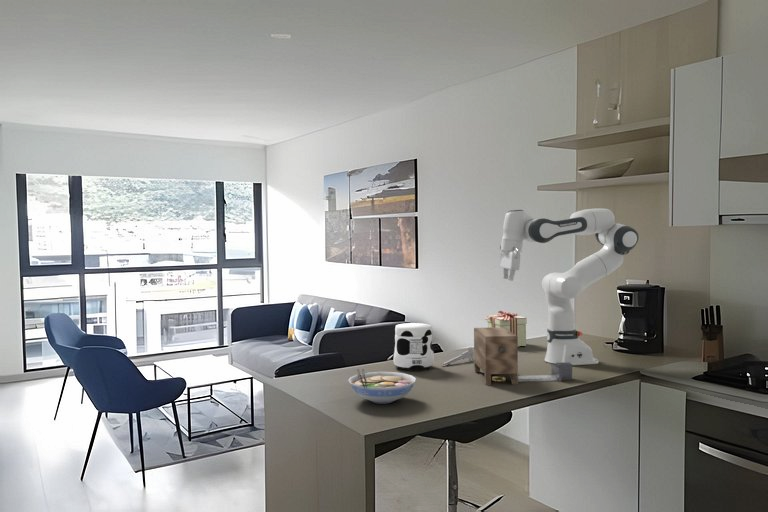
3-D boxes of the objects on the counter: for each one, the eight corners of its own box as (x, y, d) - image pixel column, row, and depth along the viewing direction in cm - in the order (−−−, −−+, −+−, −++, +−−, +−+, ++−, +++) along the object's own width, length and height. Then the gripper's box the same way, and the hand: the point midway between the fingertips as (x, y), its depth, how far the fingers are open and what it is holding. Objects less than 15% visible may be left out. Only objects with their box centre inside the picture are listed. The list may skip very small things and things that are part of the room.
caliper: (472, 360, 261) (471, 346, 261) (473, 360, 260) (473, 346, 260) (440, 367, 248) (440, 352, 248) (442, 367, 247) (442, 352, 247)
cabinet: (503, 371, 238) (503, 327, 237) (518, 385, 215) (518, 336, 214) (474, 371, 237) (473, 327, 237) (486, 385, 214) (486, 337, 214)
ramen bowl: (421, 410, 183) (421, 384, 183) (349, 413, 182) (348, 386, 181) (411, 390, 208) (411, 367, 208) (347, 392, 207) (347, 369, 206)
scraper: (566, 376, 228) (566, 360, 228) (574, 381, 219) (574, 365, 219) (511, 377, 227) (511, 361, 227) (517, 382, 218) (517, 366, 218)
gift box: (480, 344, 300) (480, 311, 300) (511, 342, 307) (511, 309, 306) (498, 350, 284) (497, 315, 284) (530, 347, 291) (530, 313, 290)
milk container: (412, 362, 258) (412, 321, 257) (442, 367, 245) (442, 325, 245) (384, 368, 246) (384, 325, 245) (414, 374, 233) (414, 330, 233)
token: (503, 379, 225) (503, 376, 225) (506, 382, 220) (506, 379, 220) (490, 379, 225) (490, 376, 225) (493, 382, 220) (493, 379, 220)
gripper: (525, 248, 237) (521, 282, 237) (513, 247, 257) (509, 278, 258) (510, 247, 237) (506, 280, 237) (498, 246, 257) (495, 277, 258)
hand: (508, 279), depth 248 cm, fingers open, 8 cm apart
